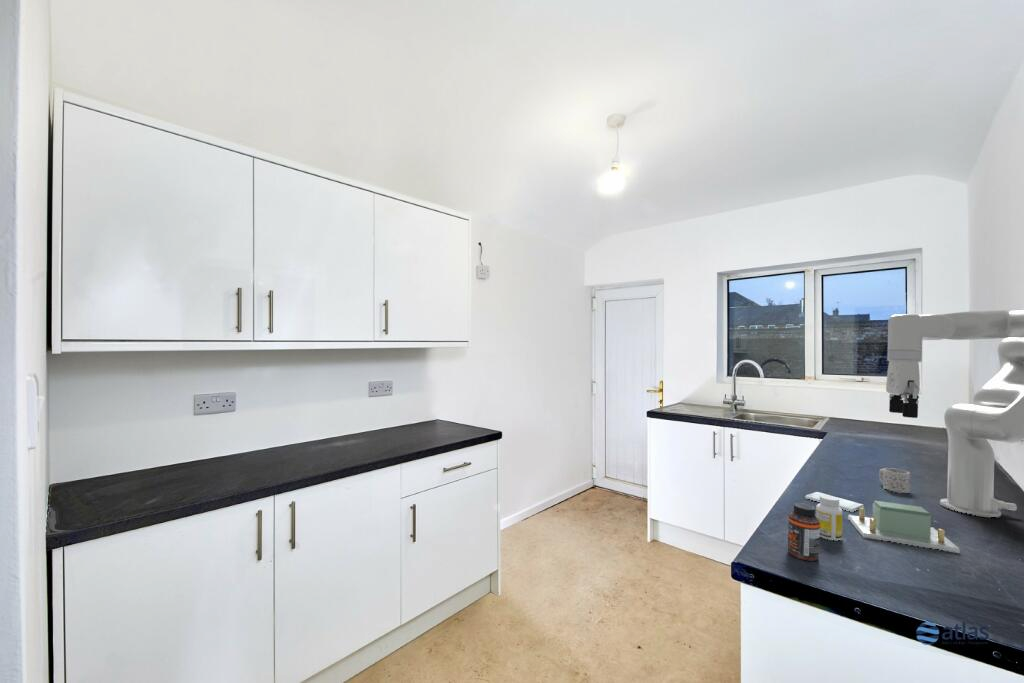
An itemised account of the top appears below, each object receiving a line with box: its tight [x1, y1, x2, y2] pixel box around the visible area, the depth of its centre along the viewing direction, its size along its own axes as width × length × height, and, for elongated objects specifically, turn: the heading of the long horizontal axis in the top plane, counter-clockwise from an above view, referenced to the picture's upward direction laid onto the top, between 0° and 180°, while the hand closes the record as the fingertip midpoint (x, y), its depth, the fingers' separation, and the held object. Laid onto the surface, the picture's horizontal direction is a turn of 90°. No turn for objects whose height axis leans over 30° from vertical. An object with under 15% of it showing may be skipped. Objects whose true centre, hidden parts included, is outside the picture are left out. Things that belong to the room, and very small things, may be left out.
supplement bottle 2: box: [815, 494, 844, 542], centre depth 109 cm, size 5×5×10 cm
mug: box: [878, 467, 911, 494], centre depth 149 cm, size 10×7×7 cm, turn 179°
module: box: [871, 500, 932, 538], centre depth 111 cm, size 10×5×6 cm, turn 66°
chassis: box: [847, 507, 960, 554], centre depth 111 cm, size 18×13×4 cm
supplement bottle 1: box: [787, 502, 821, 562], centre depth 99 cm, size 6×6×11 cm
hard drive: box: [804, 491, 865, 513], centre depth 134 cm, size 2×8×12 cm
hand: (902, 414), depth 128 cm, fingers open, 9 cm apart
